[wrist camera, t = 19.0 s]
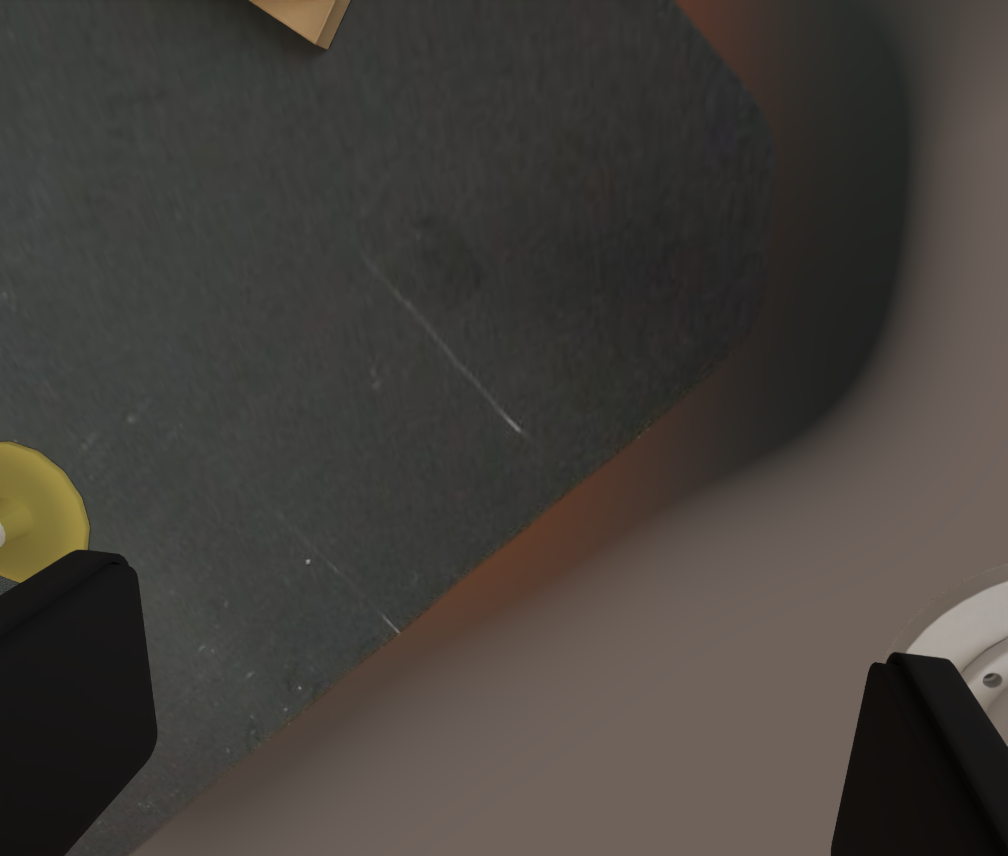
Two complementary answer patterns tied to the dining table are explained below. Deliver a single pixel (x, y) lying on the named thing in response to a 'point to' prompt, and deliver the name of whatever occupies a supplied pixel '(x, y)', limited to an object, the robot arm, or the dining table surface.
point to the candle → (36, 513)
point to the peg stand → (308, 17)
